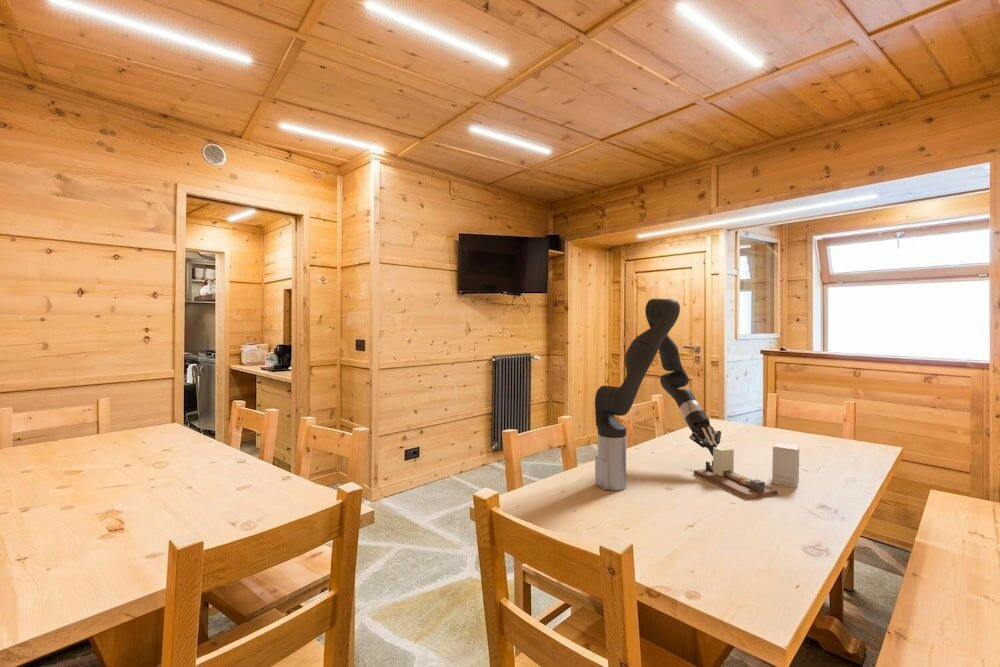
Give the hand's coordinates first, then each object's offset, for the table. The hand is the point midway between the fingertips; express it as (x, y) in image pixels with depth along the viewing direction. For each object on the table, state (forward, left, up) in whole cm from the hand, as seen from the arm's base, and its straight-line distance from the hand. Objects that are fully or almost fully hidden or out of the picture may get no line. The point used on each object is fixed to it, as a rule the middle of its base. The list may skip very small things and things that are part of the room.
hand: (717, 456), depth 163 cm
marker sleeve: (0, -3, -5) cm, 6 cm away
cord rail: (0, -7, -7) cm, 10 cm away
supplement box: (+18, -11, -8) cm, 23 cm away
